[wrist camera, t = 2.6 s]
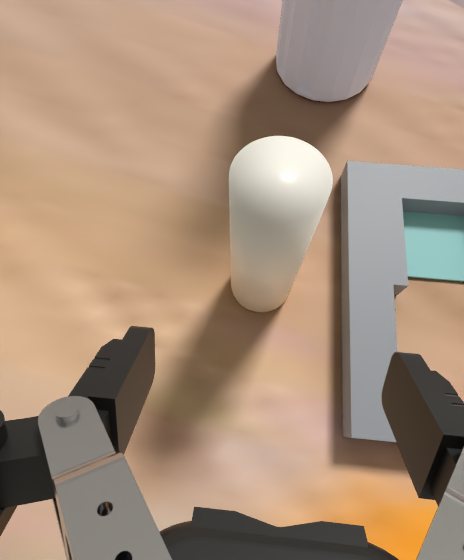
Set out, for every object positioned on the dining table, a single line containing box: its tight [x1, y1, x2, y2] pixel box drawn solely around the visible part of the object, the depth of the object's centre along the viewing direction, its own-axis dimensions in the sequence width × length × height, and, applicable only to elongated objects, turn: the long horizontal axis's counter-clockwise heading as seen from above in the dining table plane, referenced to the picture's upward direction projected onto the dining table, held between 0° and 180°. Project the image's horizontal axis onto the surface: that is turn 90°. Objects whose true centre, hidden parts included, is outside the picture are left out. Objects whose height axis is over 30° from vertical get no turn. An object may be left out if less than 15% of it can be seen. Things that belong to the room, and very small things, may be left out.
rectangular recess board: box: [341, 161, 464, 442], centre depth 27 cm, size 20×14×2 cm
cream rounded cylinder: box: [229, 136, 333, 312], centre depth 22 cm, size 4×4×13 cm
